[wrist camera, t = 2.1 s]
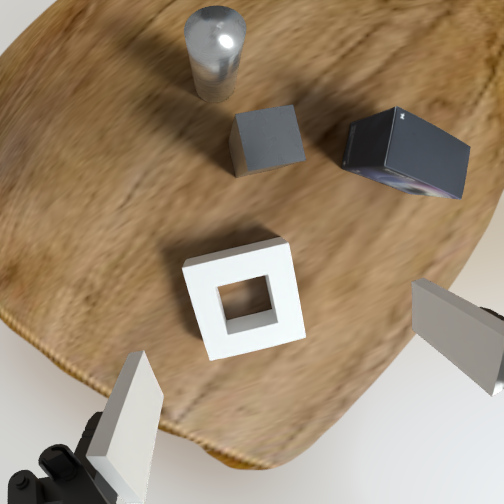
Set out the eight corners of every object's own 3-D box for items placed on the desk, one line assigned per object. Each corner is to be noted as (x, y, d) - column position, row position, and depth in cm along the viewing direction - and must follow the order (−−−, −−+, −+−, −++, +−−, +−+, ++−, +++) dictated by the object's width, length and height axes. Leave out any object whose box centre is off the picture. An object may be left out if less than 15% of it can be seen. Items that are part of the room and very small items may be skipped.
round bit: (192, 72, 31) (179, 12, 17) (230, 65, 31) (239, 1, 18) (199, 107, 32) (189, 59, 18) (238, 98, 32) (252, 47, 19)
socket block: (185, 259, 35) (181, 268, 31) (280, 236, 36) (288, 242, 32) (210, 344, 38) (210, 360, 34) (297, 323, 38) (305, 337, 34)
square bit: (228, 142, 33) (235, 114, 20) (263, 135, 33) (292, 104, 20) (235, 177, 34) (248, 171, 20) (271, 170, 34) (305, 160, 21)
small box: (338, 171, 35) (382, 168, 25) (349, 121, 34) (394, 101, 24) (409, 197, 37) (463, 203, 27) (419, 150, 36) (472, 144, 25)
